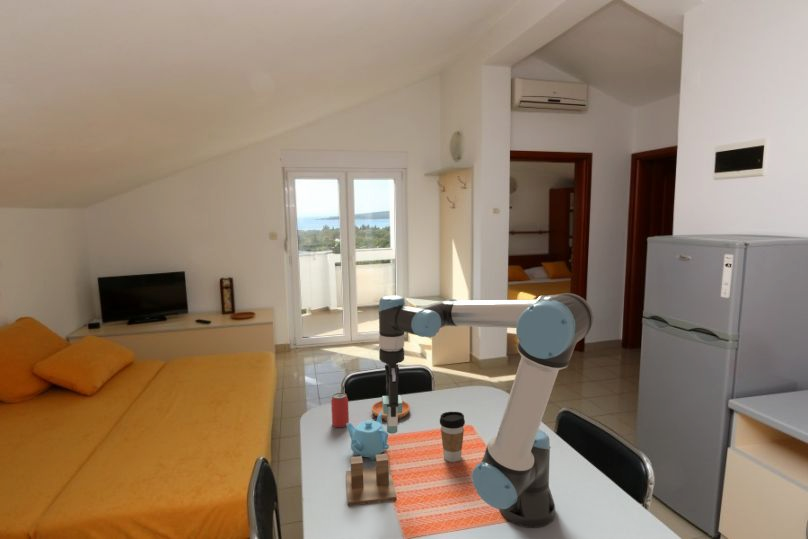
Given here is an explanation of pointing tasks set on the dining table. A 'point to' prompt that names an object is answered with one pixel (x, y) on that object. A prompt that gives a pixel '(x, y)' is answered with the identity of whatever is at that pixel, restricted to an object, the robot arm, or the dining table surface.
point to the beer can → (340, 410)
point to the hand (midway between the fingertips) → (392, 420)
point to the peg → (385, 410)
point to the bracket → (370, 482)
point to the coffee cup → (452, 435)
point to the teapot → (368, 438)
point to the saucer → (378, 408)
